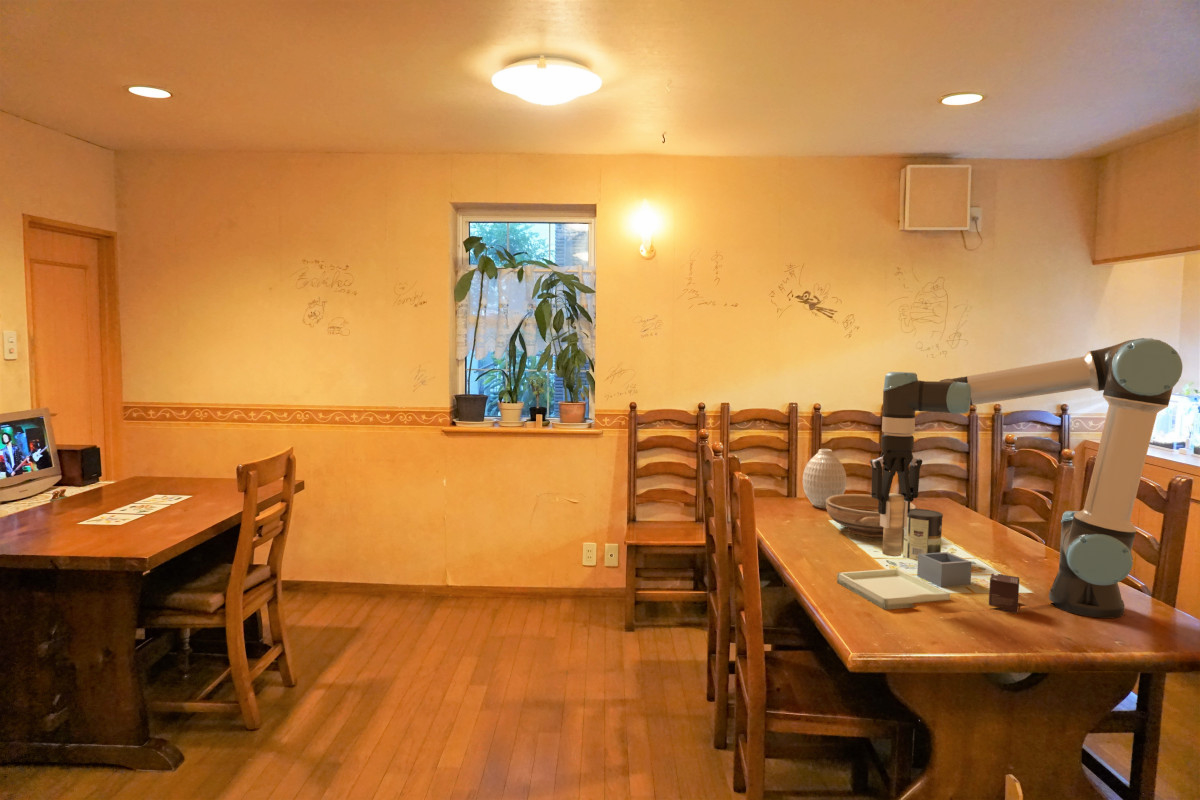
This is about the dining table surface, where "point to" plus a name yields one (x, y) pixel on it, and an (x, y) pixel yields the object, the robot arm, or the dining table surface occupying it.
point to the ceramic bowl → (857, 513)
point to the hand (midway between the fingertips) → (893, 526)
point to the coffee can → (922, 533)
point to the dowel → (894, 526)
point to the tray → (891, 588)
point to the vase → (823, 478)
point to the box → (1004, 592)
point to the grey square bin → (944, 569)
